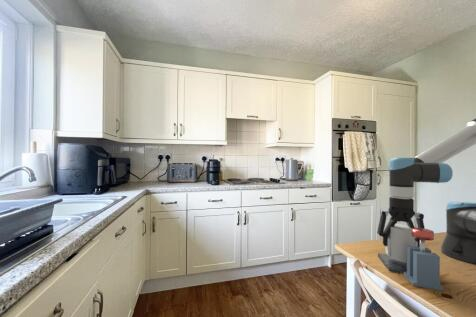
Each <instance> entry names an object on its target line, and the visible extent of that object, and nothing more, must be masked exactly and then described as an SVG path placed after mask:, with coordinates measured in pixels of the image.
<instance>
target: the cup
mask: <svg viewBox="0 0 476 317" xmlns="http://www.w3.org/2000/svg"><path fill="white" fill-rule="evenodd" d="M389 238H390V256H389V257H390V258H392V259H394V260H397V261H400V262H405V263H407V246H415V237H413V236H412V229H411V228H410V227H408V225H407V224H406V225H405V224H403V223H402V224H401V223H396V224H395V226H394V227H391V233H390V235H389Z"/></svg>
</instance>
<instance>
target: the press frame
mask: <svg viewBox="0 0 476 317" xmlns="http://www.w3.org/2000/svg"><path fill="white" fill-rule="evenodd" d="M440 258H441V257H440V255H438V254H437V253H436V252H432V249H430V248H428V247H426V246H425V252H420V247H416V246H407V272H403V273H402V275H403V276H404V277H405V278H406V279H407V281H408V282H409V283H410V284H411V286H413V287H419V288H424V289H425V288H426V289H431V290H432V289H433V290H440V291H444V290H445V289H444V286H443V285H442V284H441V283H440V281H441V280H440V279H441V278H440V277H441V274H440V272H441V270H440V268H441V261H440V260H441V259H440Z"/></svg>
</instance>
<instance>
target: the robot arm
mask: <svg viewBox="0 0 476 317" xmlns="http://www.w3.org/2000/svg"><path fill="white" fill-rule="evenodd" d="M475 145H476V118H474V119H472V120H470V121H468V122H467V123H466V124H465V127H463V128H462V129H460V130H458V131H457V132H455V133H453V134H452V135H450V136H448V137H446V138H445V139H443V140H441V141H440V142H438V143H436V144H435V145H433V146H431V147H430V148H429V147H428V148H427V149H426V150H424V151H423V152H421V153H419V154H417V155H416V156H414V157H392V158H390V160H389V165H388V170H389V186H388V187H389V192H388V193H389V199H388V200H389V201H388V204H389V207H388V209H387V210H382V209H380V210H379V214H380V218H379V222H378V227H377V232H376V234H377V235H378V236H380V237H382V244H383V246H384V247H385V253H384V254H387V255H388V256H390V238H389V235H390V233H391V227H394V226H395V224H398V223H400V222H403V223H406V225H407V226H408V227H410V228H411V229H412V228H414V227H415V225H414V221H413V220H412V218H413V217H415V219H416V220H415V221H416V224H417V225H416V226H417V228H424V229H426V227H425V224H424V217H425V215H424V214H423V213H422V212H416V211H415V209H414V207H415V205H414V204H415V200H414V197H415V192H414V190H415V189H414V188H415V186H414V184H415V183H433V184H434V183H436V184H440V183H441V184H442V183H445V184H446V183H448V182H450V181H451V180H452V179H453V173H454V172H453V168H452V167H451V166H450V165H449V164H447V163H444V162H446V161H448V160H449V159H451V158H453V157H455V156H457V155H459V154H460V153H462V152H464V151H466V150H468V149H469V148H471V147H473V146H475ZM445 211H446V216H445V217H446V218H445V219H446V235H445V237H444V239H443V241H442V243H441V245H440V251H441V253H442V254H444V255H446V256H447V257H450V258H453V259H456V260H459V261H462V262H467V263H471V264H476V202H467V201H465V202H464V201H449V202H448V203H447V204H446V208H445ZM388 215H390V218H389V221H388V223H387V225H386V220H387V217H388ZM415 246H416V247H420V239H418V238H415Z"/></svg>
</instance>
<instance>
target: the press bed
mask: <svg viewBox="0 0 476 317" xmlns="http://www.w3.org/2000/svg"><path fill="white" fill-rule="evenodd" d="M377 257H378V259H379V260H380V261H381V262H382V264H383V265H384V266H385V267H386V269H387V271H389V272H395V273H402V274H403V272H407V263H405V262H400V261H397V260H394V259H392V258H390V257H389V256H388V255H387V254H386V253H383V252H377Z"/></svg>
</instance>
